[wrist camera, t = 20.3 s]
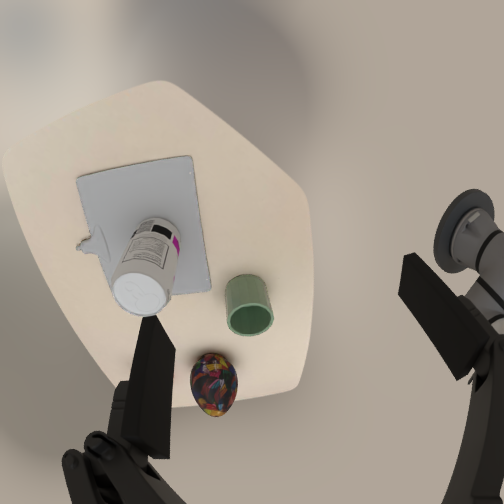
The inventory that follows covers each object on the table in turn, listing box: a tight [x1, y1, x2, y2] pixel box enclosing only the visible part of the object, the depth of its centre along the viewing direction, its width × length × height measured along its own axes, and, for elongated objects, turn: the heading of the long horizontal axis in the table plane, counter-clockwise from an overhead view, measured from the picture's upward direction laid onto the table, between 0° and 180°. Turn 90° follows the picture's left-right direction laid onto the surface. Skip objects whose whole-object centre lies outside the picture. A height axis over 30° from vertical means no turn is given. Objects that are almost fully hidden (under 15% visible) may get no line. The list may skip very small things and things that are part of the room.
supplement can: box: [111, 218, 181, 317], centre depth 39 cm, size 8×8×15 cm
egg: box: [190, 353, 238, 417], centre depth 57 cm, size 11×11×15 cm
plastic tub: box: [225, 275, 274, 336], centre depth 50 cm, size 8×8×8 cm
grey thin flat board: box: [76, 156, 211, 296], centre depth 44 cm, size 25×24×1 cm
